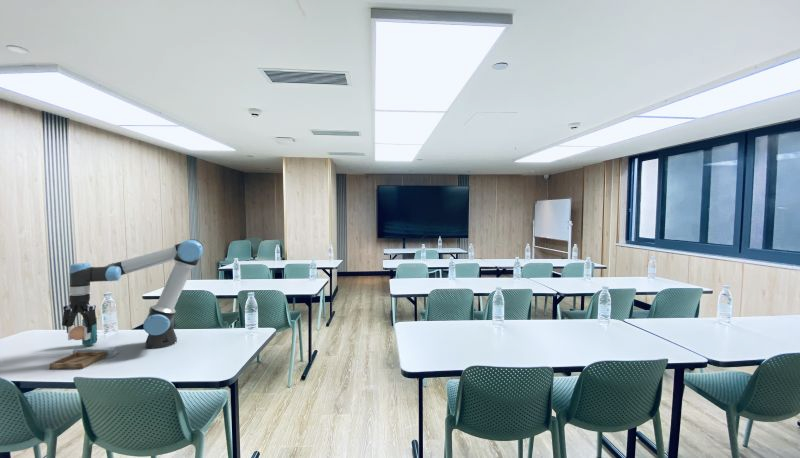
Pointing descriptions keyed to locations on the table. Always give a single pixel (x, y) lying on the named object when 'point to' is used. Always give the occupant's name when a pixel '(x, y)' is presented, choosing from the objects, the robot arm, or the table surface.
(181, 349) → the table surface
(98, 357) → the walnut tray
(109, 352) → the acrylic divider
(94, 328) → the beverage bottle
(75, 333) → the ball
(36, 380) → the table surface
